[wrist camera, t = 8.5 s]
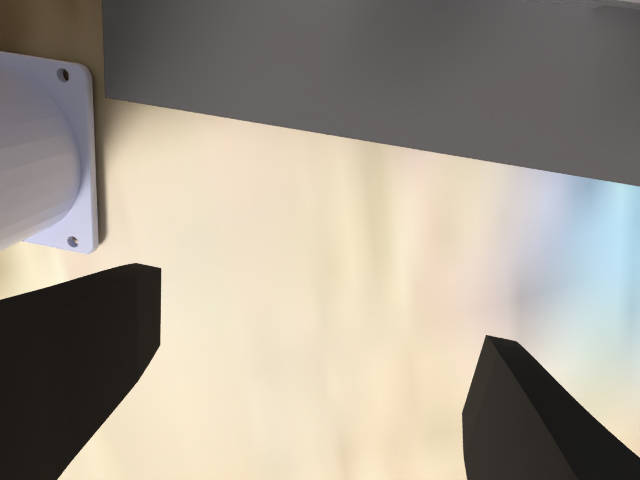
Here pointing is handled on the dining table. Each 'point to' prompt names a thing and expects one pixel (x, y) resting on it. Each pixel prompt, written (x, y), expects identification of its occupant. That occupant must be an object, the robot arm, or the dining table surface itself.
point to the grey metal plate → (593, 3)
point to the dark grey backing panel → (398, 73)
